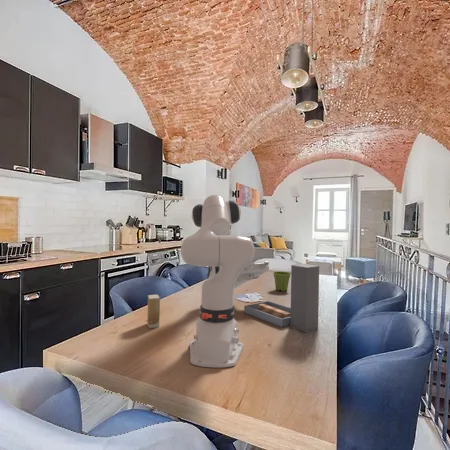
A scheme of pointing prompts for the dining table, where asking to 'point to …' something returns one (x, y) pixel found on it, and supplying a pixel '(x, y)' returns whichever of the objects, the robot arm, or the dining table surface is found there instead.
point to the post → (304, 297)
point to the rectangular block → (273, 311)
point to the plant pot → (281, 280)
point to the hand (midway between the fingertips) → (260, 263)
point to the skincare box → (153, 311)
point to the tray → (277, 321)
